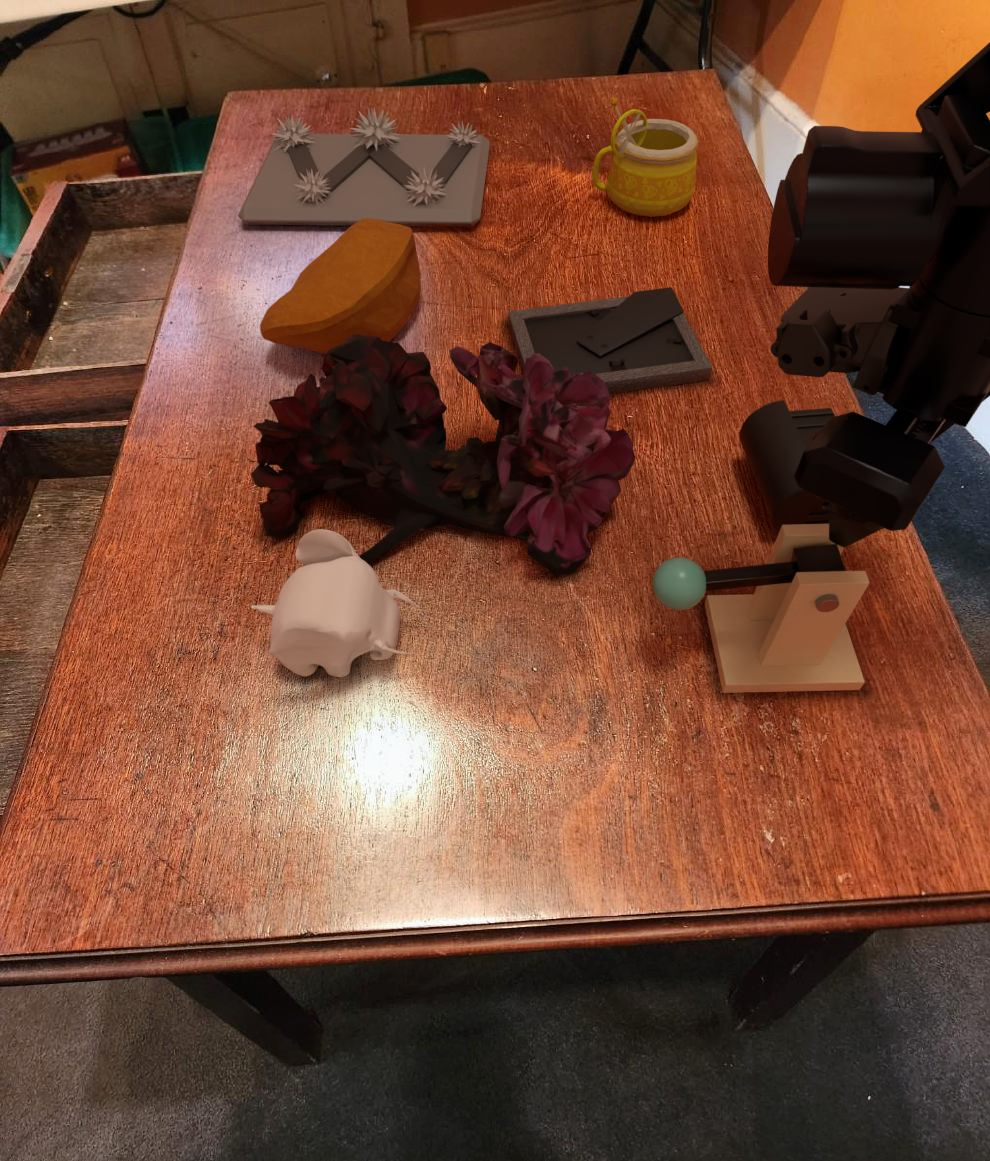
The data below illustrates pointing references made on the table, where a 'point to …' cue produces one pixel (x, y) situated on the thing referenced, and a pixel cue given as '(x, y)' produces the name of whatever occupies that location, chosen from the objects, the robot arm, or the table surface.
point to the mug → (649, 165)
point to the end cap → (784, 460)
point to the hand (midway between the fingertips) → (868, 499)
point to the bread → (350, 290)
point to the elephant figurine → (332, 609)
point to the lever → (736, 575)
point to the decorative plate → (369, 177)
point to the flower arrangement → (447, 477)
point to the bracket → (789, 626)
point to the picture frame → (615, 340)
